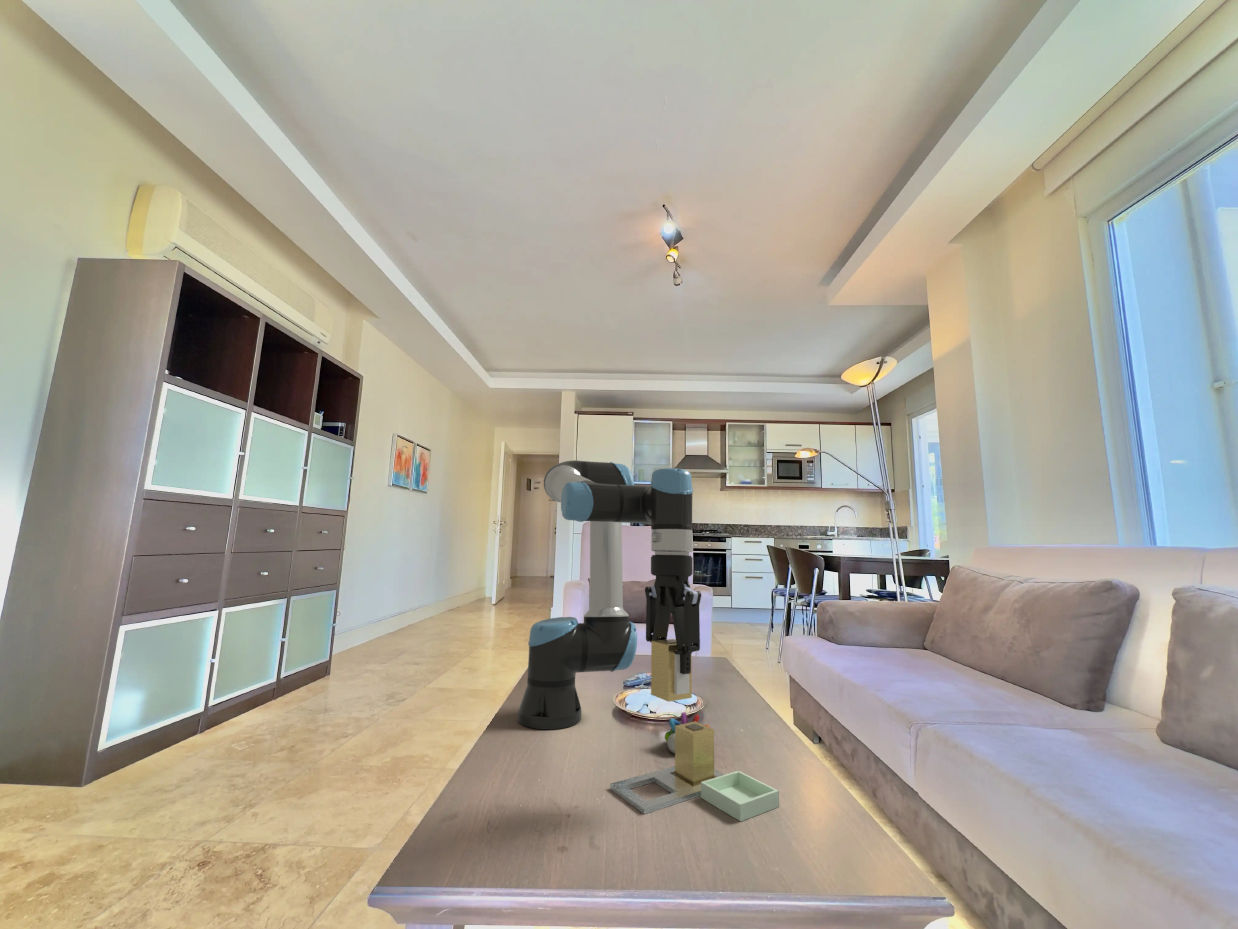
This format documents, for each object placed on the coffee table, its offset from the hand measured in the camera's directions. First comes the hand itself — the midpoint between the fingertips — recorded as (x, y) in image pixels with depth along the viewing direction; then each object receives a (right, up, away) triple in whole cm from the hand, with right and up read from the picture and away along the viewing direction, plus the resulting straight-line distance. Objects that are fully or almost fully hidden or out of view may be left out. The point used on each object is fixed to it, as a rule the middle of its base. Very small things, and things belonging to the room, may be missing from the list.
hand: (671, 689), depth 90 cm
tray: (+11, -17, -4) cm, 21 cm away
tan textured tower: (+5, -18, +4) cm, 19 cm away
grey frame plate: (0, -18, +1) cm, 18 cm away
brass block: (0, -1, 0) cm, 1 cm away
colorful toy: (+5, -21, +18) cm, 28 cm away
